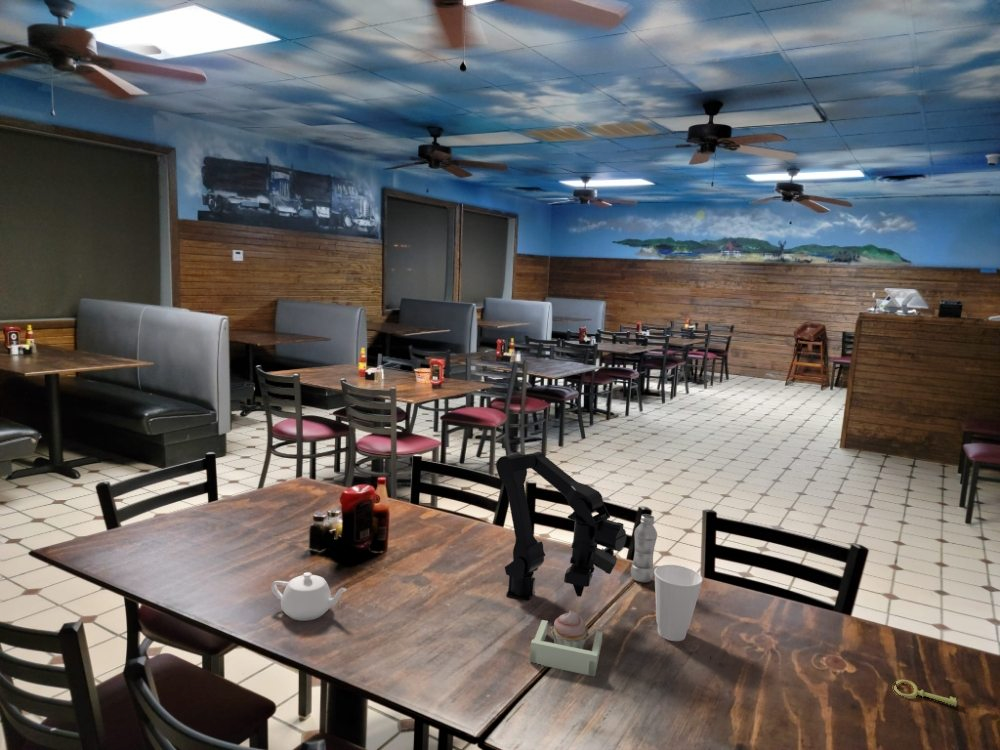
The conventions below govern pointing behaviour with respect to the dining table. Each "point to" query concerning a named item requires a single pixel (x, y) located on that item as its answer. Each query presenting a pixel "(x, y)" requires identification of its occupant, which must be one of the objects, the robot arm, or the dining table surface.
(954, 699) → the key
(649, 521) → the plastic bottle
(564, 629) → the cupcake
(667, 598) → the cup
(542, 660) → the pocket
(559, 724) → the dining table surface
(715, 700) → the dining table surface
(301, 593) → the teapot
